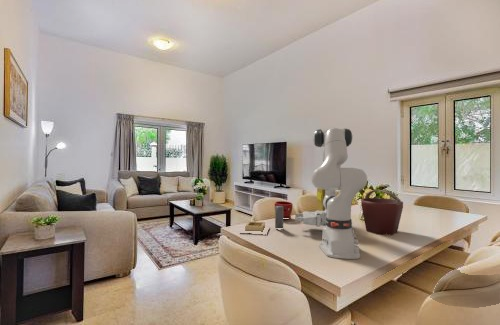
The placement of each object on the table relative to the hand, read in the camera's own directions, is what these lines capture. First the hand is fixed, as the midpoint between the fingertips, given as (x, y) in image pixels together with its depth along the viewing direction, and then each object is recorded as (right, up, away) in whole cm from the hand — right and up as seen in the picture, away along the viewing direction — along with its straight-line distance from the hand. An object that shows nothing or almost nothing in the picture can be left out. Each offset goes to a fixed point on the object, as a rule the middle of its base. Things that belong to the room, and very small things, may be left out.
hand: (295, 216), depth 153 cm
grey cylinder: (-10, -8, +2) cm, 13 cm away
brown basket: (+51, -8, -3) cm, 51 cm away
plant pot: (-3, -8, +30) cm, 31 cm away
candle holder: (-25, -8, -1) cm, 26 cm away
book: (+23, -8, +21) cm, 33 cm away
